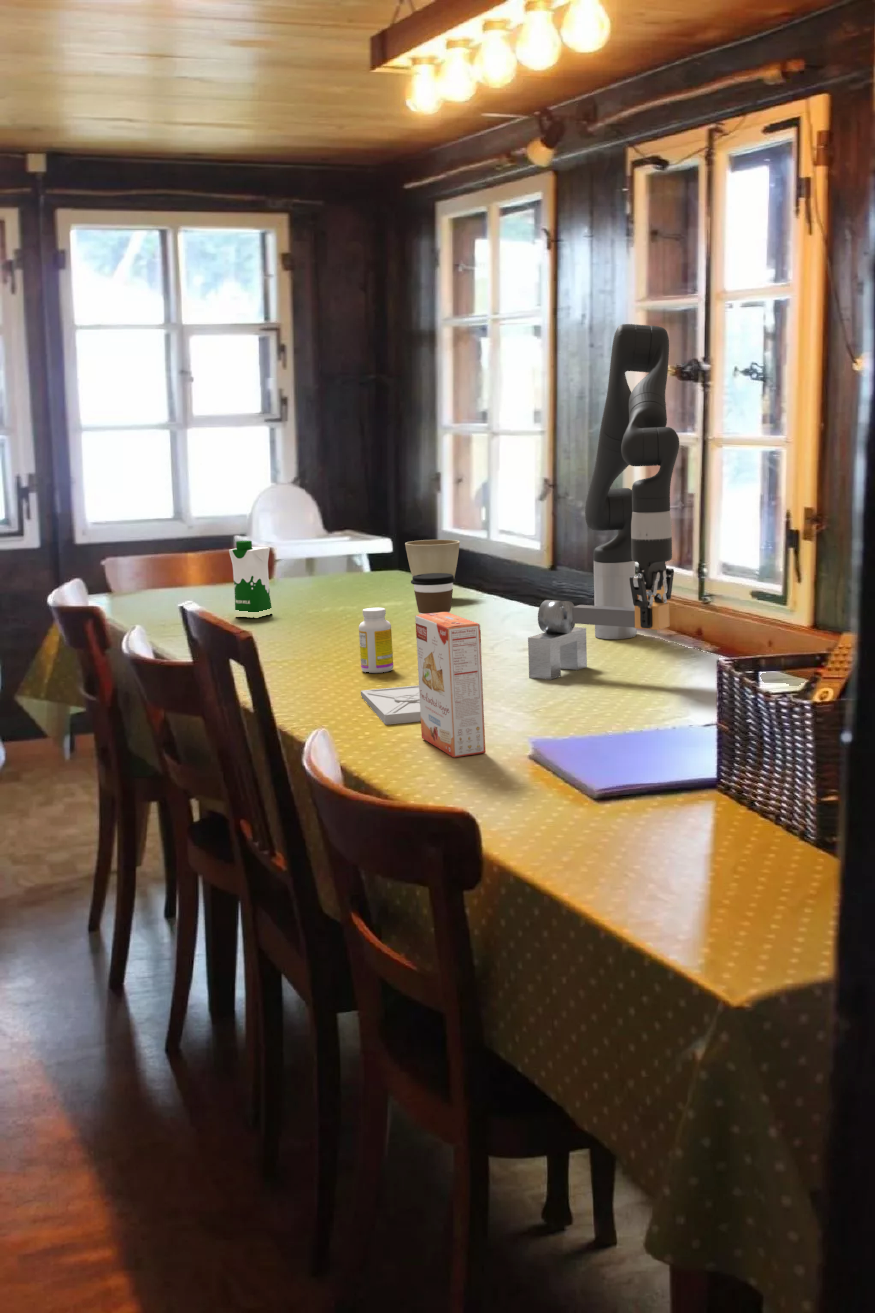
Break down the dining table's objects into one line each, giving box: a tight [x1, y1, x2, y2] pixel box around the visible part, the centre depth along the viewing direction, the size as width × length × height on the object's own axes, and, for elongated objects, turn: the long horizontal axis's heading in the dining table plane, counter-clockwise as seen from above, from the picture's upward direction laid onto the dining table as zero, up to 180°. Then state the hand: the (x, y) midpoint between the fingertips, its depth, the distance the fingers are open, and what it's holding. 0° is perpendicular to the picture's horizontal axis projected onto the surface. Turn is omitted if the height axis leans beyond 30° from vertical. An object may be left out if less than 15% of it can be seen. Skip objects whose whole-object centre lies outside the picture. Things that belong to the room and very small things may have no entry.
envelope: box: [360, 684, 421, 725], centre depth 252 cm, size 24×2×14 cm
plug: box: [572, 602, 670, 631], centre depth 266 cm, size 19×4×4 cm, turn 54°
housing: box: [527, 599, 588, 681], centre depth 276 cm, size 14×5×14 cm, turn 144°
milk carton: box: [228, 540, 273, 612], centre depth 363 cm, size 9×9×20 cm
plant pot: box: [404, 539, 461, 577], centre depth 379 cm, size 15×15×16 cm
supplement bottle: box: [358, 607, 394, 674], centre depth 285 cm, size 7×7×13 cm
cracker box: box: [415, 612, 486, 758], centre depth 220 cm, size 14×6×21 cm, turn 21°
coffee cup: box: [410, 573, 457, 615], centre depth 340 cm, size 11×11×12 cm
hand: (652, 625), depth 263 cm, fingers closed on plug, 4 cm apart
